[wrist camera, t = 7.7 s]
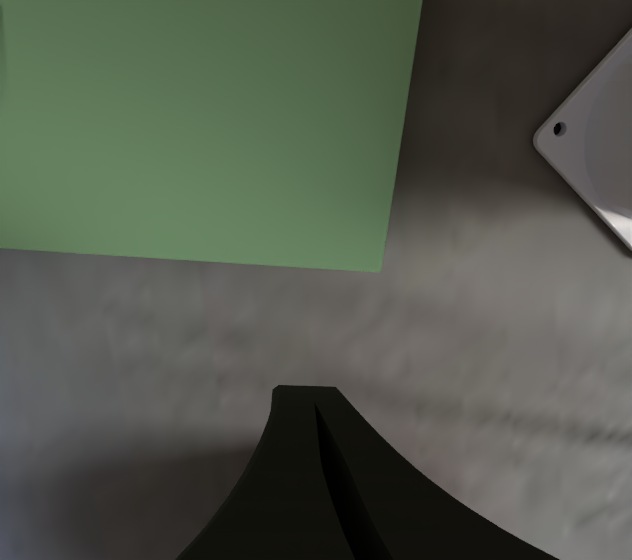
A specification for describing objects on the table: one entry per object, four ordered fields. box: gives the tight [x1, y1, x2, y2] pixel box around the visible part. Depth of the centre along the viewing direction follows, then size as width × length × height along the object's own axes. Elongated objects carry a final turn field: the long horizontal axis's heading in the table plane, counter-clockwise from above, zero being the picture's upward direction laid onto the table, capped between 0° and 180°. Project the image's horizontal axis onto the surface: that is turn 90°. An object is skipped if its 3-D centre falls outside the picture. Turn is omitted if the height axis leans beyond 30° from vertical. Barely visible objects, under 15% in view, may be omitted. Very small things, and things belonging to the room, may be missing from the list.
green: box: [0, 0, 423, 272], centre depth 17 cm, size 24×12×2 cm, turn 84°
